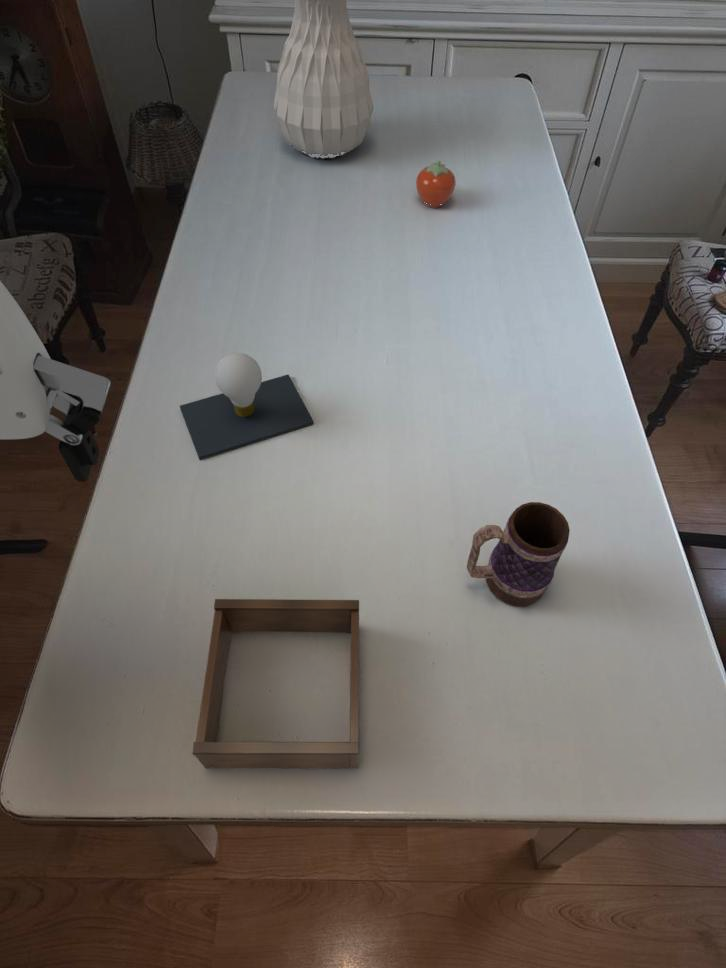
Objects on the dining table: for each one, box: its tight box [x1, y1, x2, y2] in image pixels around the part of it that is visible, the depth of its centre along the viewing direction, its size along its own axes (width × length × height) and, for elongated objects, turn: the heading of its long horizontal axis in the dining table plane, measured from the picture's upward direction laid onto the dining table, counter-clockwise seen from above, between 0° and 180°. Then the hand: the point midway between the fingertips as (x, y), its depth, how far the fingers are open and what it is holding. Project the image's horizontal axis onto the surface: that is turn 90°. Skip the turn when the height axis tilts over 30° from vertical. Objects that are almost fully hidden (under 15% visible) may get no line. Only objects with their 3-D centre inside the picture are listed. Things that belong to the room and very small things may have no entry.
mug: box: [466, 501, 571, 607], centre depth 68 cm, size 10×7×12 cm
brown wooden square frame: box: [191, 598, 360, 769], centre depth 62 cm, size 15×15×6 cm
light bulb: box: [214, 352, 263, 417], centre depth 82 cm, size 6×6×10 cm
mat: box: [179, 374, 315, 461], centre depth 86 cm, size 16×10×1 cm, turn 114°
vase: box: [273, 0, 374, 158], centre depth 120 cm, size 20×20×30 cm
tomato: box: [415, 159, 457, 209], centre depth 117 cm, size 7×7×8 cm
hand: (19, 466), depth 46 cm, fingers open, 9 cm apart
